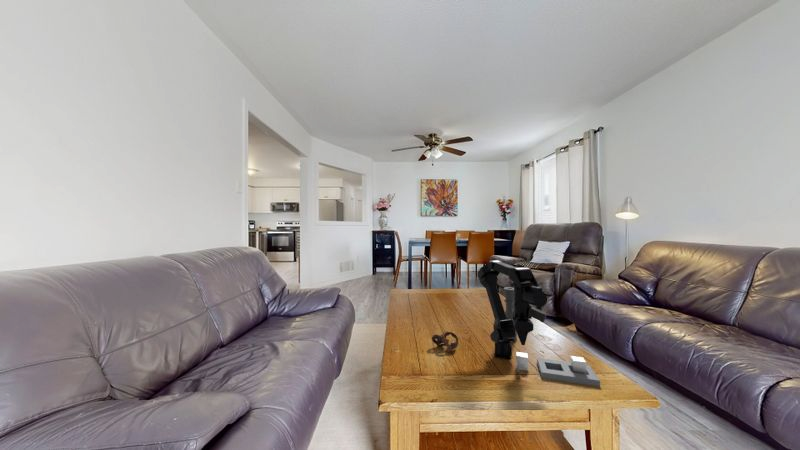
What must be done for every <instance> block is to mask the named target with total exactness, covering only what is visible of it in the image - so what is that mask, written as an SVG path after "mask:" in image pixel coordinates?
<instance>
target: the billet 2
mask: <svg viewBox="0 0 800 450" xmlns="http://www.w3.org/2000/svg"><path fill="white" fill-rule="evenodd" d="M570 362H571V372H572V373H579V374H586V364H587V361H586V359H585V358H584V357H583V356H582V357H581V356H575V355H570Z"/></svg>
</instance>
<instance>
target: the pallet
mask: <svg viewBox="0 0 800 450" xmlns="http://www.w3.org/2000/svg"><path fill="white" fill-rule="evenodd" d="M536 363H537V366H538V370H539V373H540V376H541V379H546V380H553V381H559V382H567V383H572V384H578V385H579V384H580V385H587V386H593V387H601V379H600V378H599V377H598V375H597V374H596V373H595V371H594V369H593V368H592V367H591V365H590V364H588V363H586V374H579V373H572V372H571V361H565V360H559V359H551V358H543V357H536Z"/></svg>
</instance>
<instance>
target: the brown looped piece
mask: <svg viewBox="0 0 800 450" xmlns="http://www.w3.org/2000/svg"><path fill="white" fill-rule="evenodd" d="M450 335H451V336H452V338H454V339H455V342H450V344H449V341H450V340H449V339H448V338H447V337H448V336H450ZM431 340H432V342H433V344H435V345H436V347H439V346H440V345H442V344H444V345H445V346H446V349H445V351H446V352H447V353H450V352H451V351H453V350H455V349H457V348H458V346H459V337H458V336H457V334H455V333H454V332H452V331H445V332H443V333H441V334H439V335H438V334H433V335H432V337H431Z"/></svg>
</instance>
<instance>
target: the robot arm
mask: <svg viewBox="0 0 800 450" xmlns="http://www.w3.org/2000/svg"><path fill="white" fill-rule="evenodd" d="M500 274H502V275H505V276H507V277H508V279H509V280H510V281H511V282H512V283H510V286H511V288H514V308H513V309H512V316H513V320H514V324H513V321H512V320H509V319H508V318H507V317H506V314H505V311H506V310H505V308H504V306H503V303H502V300H501V297H500V293H499V289H498V286H497V283H498V281H499V278H498V276H499V275H500ZM476 276H477V278H478V280H479V283H480V284H481V286H483V287H484V288H485V290H486V294H487V298H488V300H489V301H488V302H489V304H490V307H491V310H492V313H493V317H494V323H493V326H492V327H493V331H492V332H491V333H490V334H489V337H490V340H491V342H493V343H494V357H495V358H499V359H506V360H507V359H508V360H511V359H512V356H513V355H512V354H513V347H512V345H513V344H512V343H515V341H514V340H515V336H516V332H517V338H518V339H519V342H520V344H521V345H522V346H525V345H526V342H527V337H528V335H529V333H532V332H533V331H534V324H533V321H532V318H533V319H534V320H535V319H536V320H537V321H539V322H542V323H545V320H546V318H547V316H548V315H547V312H546V311H544V310H543V309H542V308H543V307H544V306H546V304H547V302H548V297H547V294H546V293H545V292H544V291H543V287H539V284H538V281H537V279H536V277H535V275H534V273H533V272H532V269H531V268H530V267H526V266H525V267H523V266H522V267H521V266H519V267H518V266H513V265H512V264H507V263H505V262H502V261H500V260H489V261H488V262H487V263H486V264H484V265H483V266H481V267H480V268H479V270H478V271H477V275H476Z"/></svg>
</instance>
